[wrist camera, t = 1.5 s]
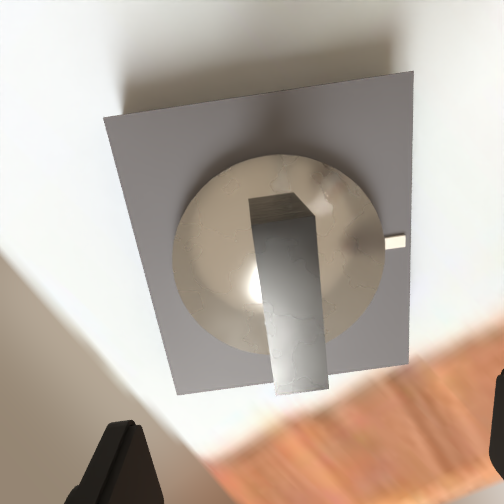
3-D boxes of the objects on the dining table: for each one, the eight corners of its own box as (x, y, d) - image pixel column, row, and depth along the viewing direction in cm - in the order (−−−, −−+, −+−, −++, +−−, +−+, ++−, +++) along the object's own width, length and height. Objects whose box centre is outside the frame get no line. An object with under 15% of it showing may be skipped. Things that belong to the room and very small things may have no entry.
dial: (154, 171, 18) (109, 190, 12) (376, 138, 18) (447, 140, 12) (196, 357, 22) (179, 443, 16) (379, 332, 22) (434, 409, 16)
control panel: (122, 120, 20) (101, 117, 17) (389, 80, 20) (415, 70, 17) (184, 366, 26) (176, 397, 23) (389, 338, 26) (409, 365, 23)
